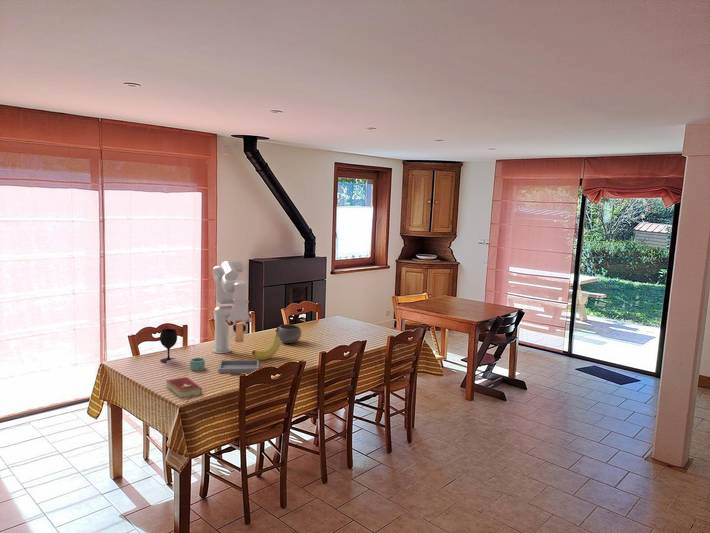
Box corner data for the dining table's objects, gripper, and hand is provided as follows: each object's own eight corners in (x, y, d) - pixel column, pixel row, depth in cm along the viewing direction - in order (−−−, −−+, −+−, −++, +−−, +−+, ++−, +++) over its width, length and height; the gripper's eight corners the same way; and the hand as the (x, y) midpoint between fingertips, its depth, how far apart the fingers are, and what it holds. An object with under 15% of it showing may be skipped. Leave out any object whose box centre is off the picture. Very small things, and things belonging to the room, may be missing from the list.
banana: (255, 362, 349) (255, 332, 346) (249, 360, 352) (250, 331, 350) (281, 356, 365) (282, 327, 363) (276, 354, 369) (277, 326, 367)
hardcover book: (186, 383, 306) (186, 376, 305) (201, 394, 290) (202, 387, 289) (165, 387, 298) (165, 379, 298) (180, 398, 282) (180, 391, 281)
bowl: (303, 340, 410) (303, 324, 409) (298, 346, 393) (298, 329, 391) (280, 338, 412) (280, 322, 411) (274, 344, 394) (274, 328, 393)
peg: (235, 340, 333) (235, 323, 332) (243, 340, 334) (243, 323, 333) (234, 342, 328) (235, 324, 327) (243, 342, 329) (243, 325, 328)
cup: (191, 368, 332) (191, 357, 331) (205, 367, 333) (205, 357, 333) (189, 372, 324) (189, 361, 323) (204, 372, 325) (204, 361, 324)
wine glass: (180, 360, 346) (180, 330, 344) (167, 364, 337) (167, 333, 335) (169, 357, 351) (169, 327, 349) (156, 361, 342) (156, 330, 340)
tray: (220, 365, 340) (220, 360, 339) (258, 365, 344) (258, 359, 344) (218, 374, 322) (218, 368, 322) (258, 373, 327) (258, 368, 326)
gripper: (254, 301, 334) (253, 330, 336) (226, 301, 330) (225, 330, 333) (254, 303, 326) (253, 333, 328) (225, 303, 323) (224, 333, 325)
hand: (239, 331), depth 330 cm, fingers closed on peg, 5 cm apart
